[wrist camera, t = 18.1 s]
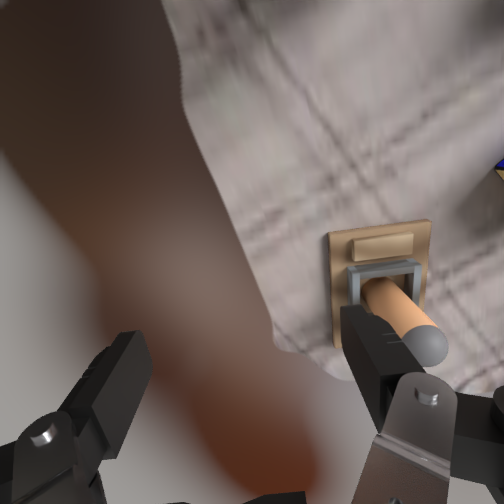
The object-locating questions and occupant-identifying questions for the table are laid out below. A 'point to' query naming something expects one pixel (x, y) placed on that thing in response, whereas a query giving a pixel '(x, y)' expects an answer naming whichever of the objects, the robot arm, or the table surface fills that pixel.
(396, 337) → the robot arm
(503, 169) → the puzzle cube
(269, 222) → the table surface
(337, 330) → the jig
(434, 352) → the grey-capped tan cylinder
